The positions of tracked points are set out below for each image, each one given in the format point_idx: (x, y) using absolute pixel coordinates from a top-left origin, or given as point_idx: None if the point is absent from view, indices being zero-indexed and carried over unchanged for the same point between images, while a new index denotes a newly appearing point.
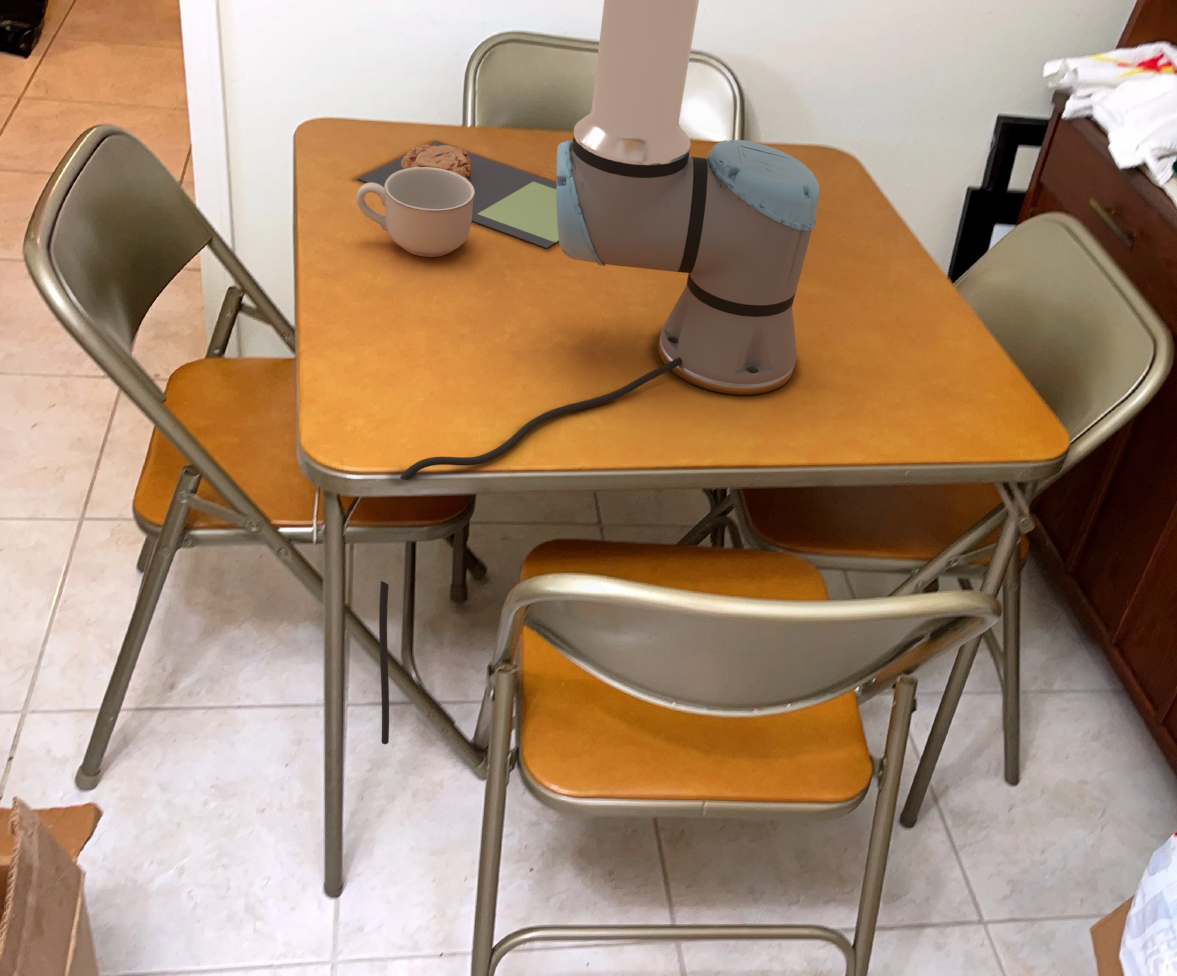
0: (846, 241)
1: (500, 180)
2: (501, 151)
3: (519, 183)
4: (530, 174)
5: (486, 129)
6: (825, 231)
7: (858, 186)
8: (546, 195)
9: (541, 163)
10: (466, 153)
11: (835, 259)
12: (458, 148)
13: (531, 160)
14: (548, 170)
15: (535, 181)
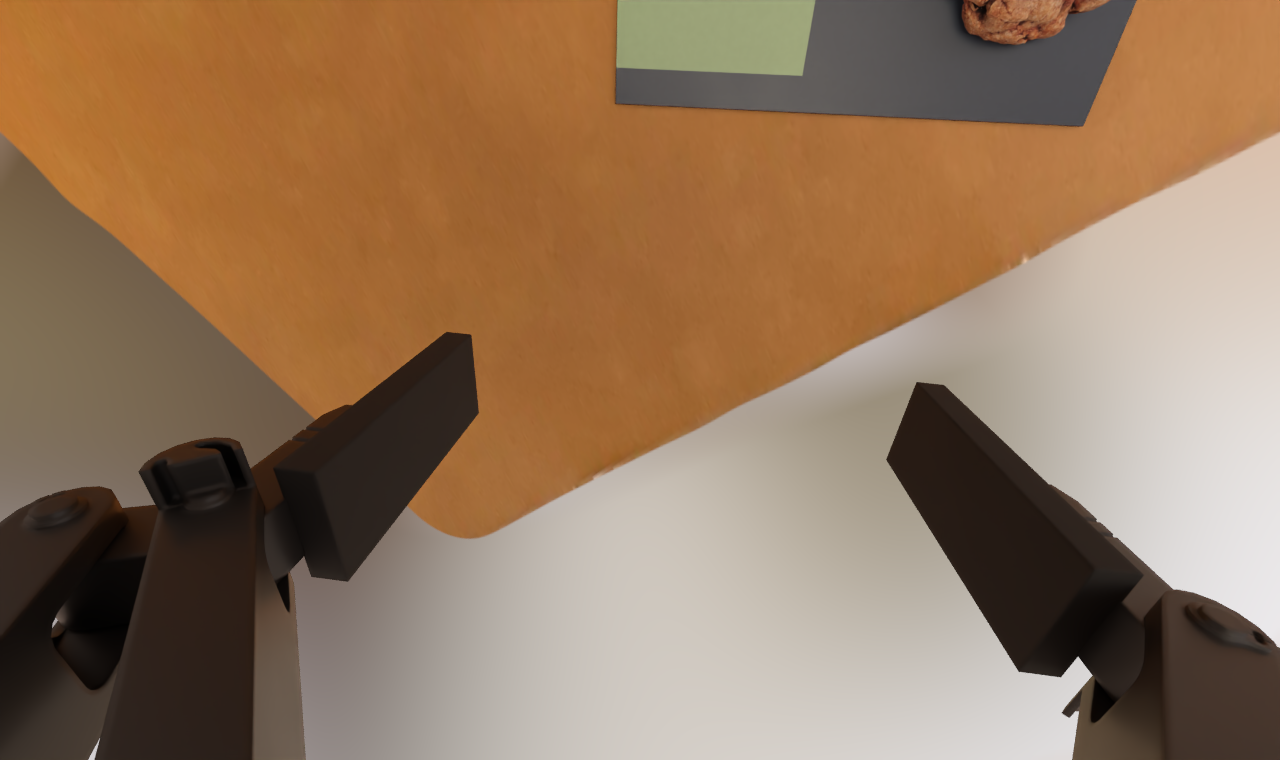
0: (257, 255)
1: (871, 21)
2: (919, 190)
3: (826, 40)
4: (820, 109)
5: (983, 274)
6: (300, 269)
7: None
8: (748, 22)
9: (821, 192)
10: (992, 5)
11: (222, 171)
12: (1022, 5)
13: (845, 191)
14: (796, 168)
15: (797, 80)
